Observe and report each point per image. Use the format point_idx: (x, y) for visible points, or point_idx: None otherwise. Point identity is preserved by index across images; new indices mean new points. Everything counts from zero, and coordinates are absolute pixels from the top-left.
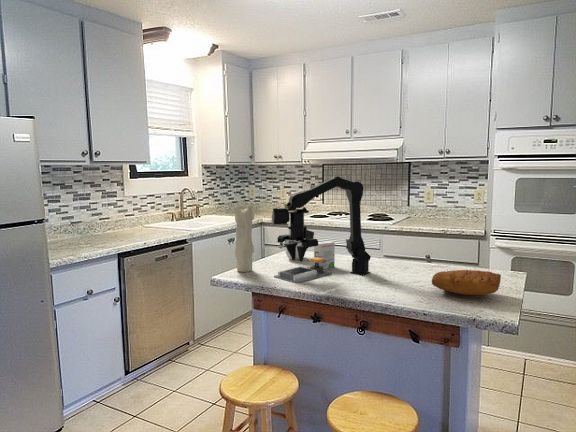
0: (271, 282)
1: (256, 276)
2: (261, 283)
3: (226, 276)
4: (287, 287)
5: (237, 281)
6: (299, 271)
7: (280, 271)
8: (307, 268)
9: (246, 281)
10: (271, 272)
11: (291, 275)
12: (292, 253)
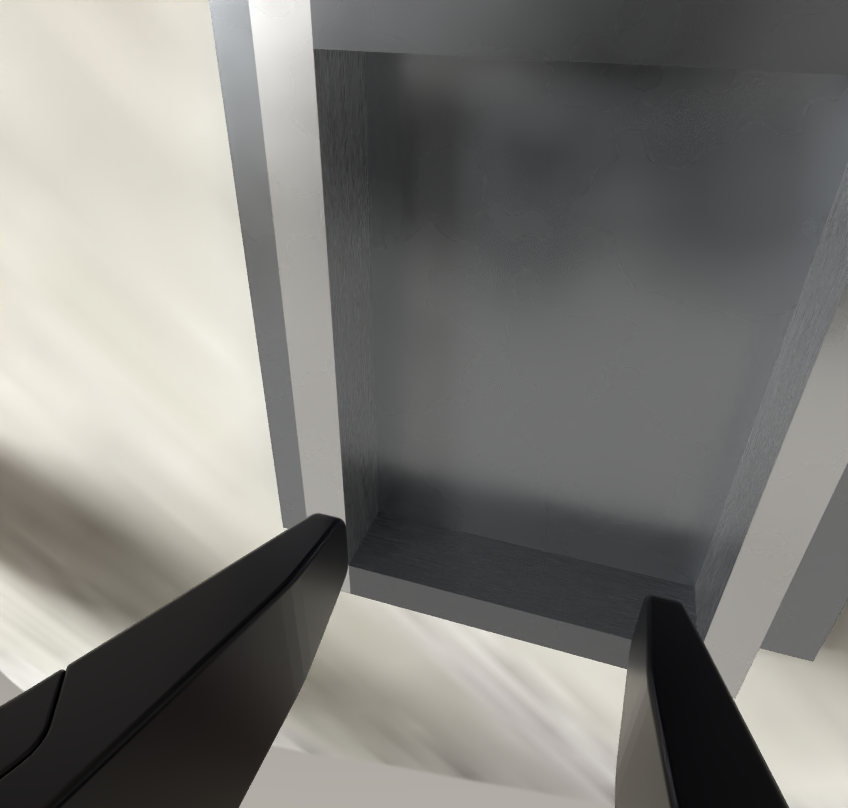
0: (457, 688)
1: (144, 560)
2: (406, 734)
3: (18, 645)
4: None
5: None
6: (360, 58)
7: None
8: (592, 14)
9: None
10: (56, 332)
11: None
12: (217, 789)
